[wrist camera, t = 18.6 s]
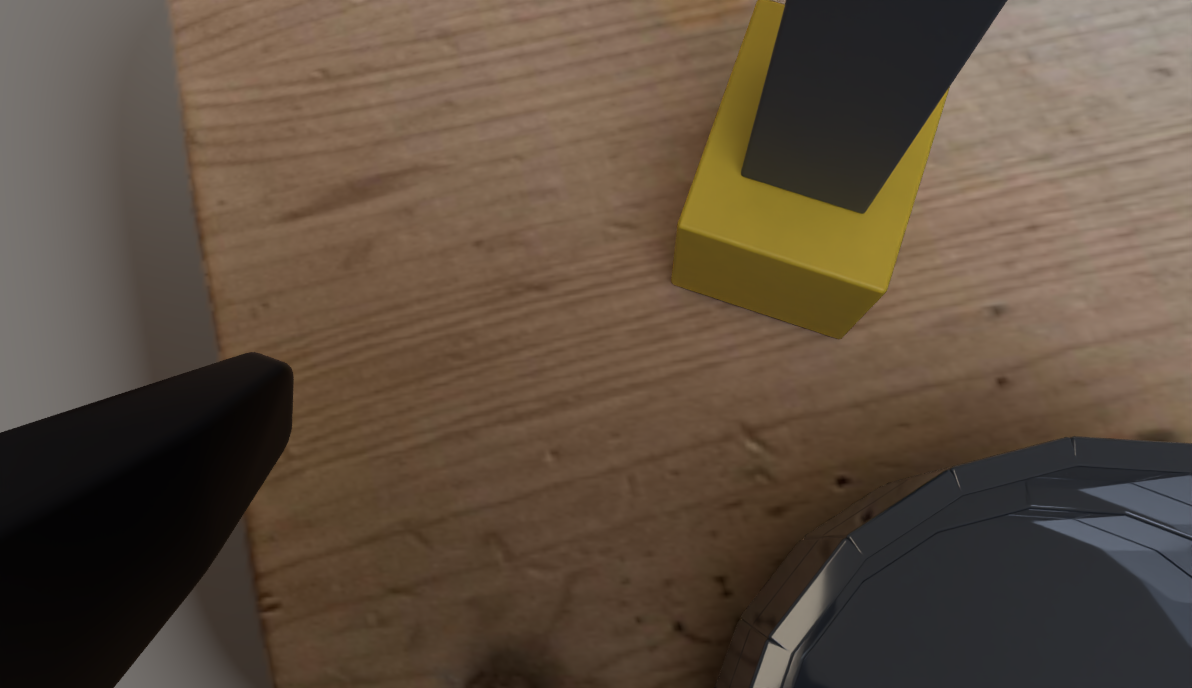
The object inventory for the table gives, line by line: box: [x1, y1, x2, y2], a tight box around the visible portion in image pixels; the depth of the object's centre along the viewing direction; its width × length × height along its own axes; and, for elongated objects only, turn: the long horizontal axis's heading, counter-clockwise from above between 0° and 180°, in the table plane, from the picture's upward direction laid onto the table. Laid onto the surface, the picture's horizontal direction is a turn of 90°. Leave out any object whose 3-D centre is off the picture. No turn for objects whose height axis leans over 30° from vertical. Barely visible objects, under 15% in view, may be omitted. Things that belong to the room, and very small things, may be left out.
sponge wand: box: [671, 0, 1007, 339], centre depth 15 cm, size 5×4×14 cm
